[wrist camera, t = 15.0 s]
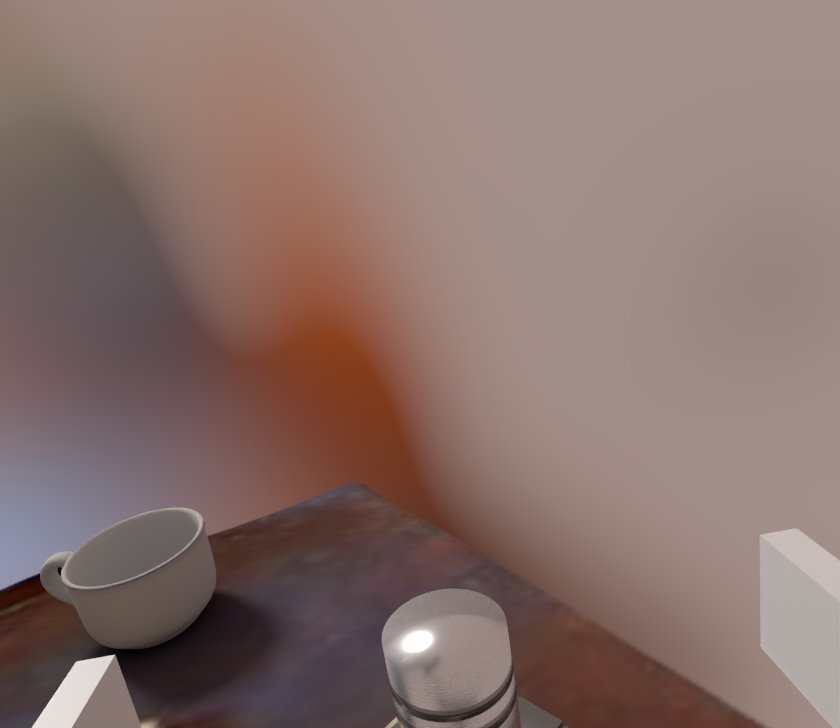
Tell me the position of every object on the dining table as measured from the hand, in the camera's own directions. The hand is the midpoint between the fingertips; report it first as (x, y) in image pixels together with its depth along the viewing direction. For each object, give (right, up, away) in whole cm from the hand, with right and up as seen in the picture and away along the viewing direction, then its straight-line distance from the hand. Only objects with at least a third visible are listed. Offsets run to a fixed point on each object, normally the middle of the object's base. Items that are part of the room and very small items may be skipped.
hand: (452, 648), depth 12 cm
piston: (+2, -16, +15) cm, 22 cm away
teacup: (-24, -17, +37) cm, 47 cm away
